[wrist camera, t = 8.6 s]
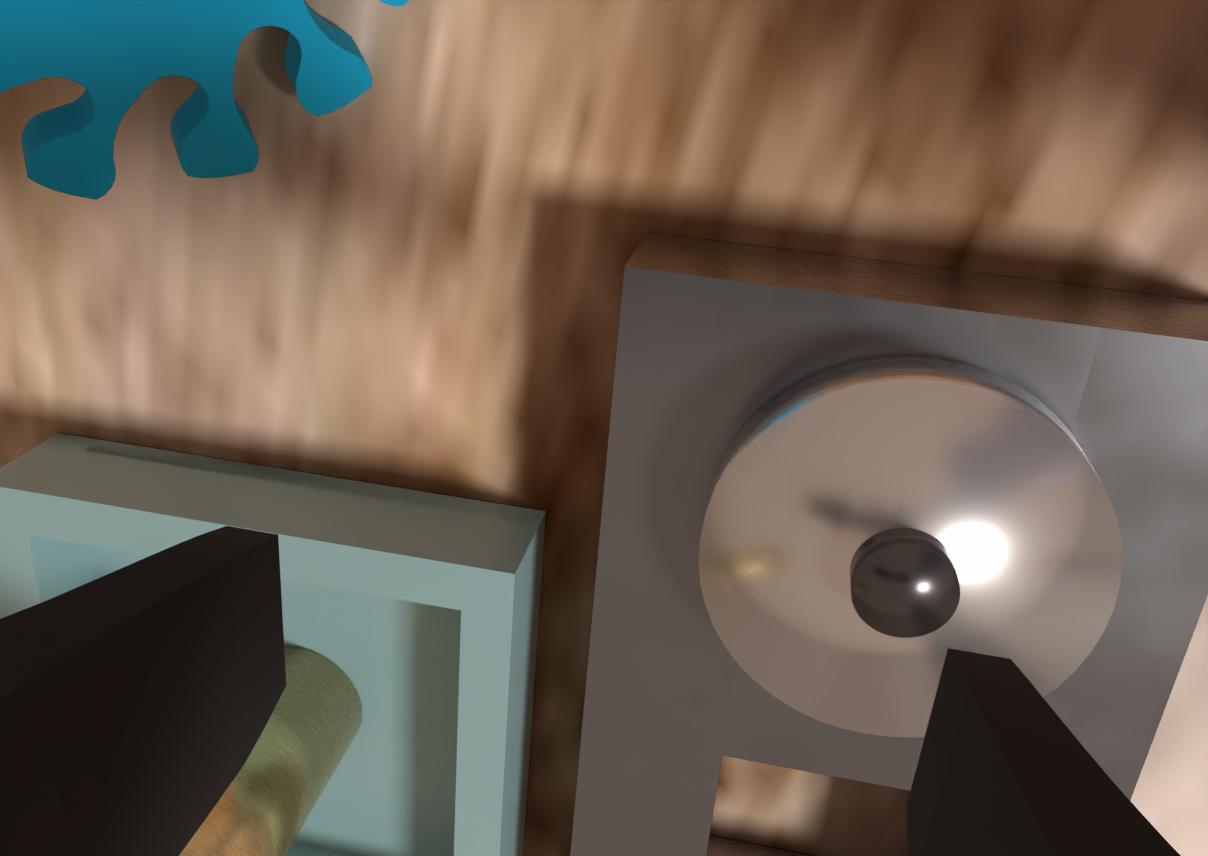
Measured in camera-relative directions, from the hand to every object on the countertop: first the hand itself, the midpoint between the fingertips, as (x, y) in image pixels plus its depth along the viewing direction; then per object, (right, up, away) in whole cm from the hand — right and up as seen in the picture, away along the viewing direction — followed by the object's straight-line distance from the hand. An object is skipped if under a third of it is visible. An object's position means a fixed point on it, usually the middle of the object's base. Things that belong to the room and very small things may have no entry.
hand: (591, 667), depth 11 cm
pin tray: (-7, -3, +13) cm, 15 cm away
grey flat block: (+5, -2, +10) cm, 12 cm away
